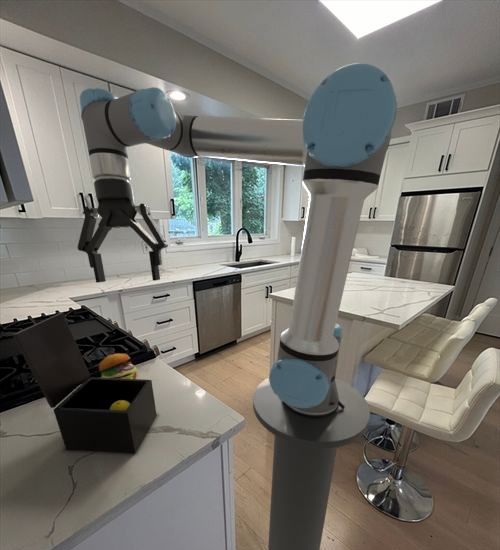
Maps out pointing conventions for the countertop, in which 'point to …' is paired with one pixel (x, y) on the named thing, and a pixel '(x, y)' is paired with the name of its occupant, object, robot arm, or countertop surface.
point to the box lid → (53, 357)
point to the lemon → (120, 405)
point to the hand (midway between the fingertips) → (128, 281)
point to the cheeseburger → (117, 367)
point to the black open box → (106, 415)
